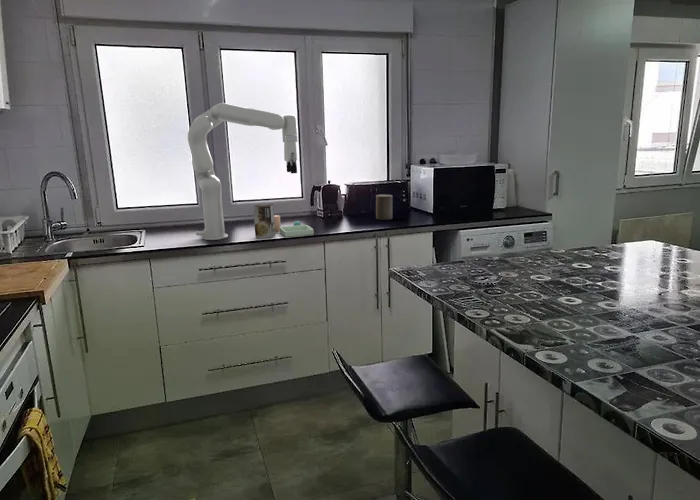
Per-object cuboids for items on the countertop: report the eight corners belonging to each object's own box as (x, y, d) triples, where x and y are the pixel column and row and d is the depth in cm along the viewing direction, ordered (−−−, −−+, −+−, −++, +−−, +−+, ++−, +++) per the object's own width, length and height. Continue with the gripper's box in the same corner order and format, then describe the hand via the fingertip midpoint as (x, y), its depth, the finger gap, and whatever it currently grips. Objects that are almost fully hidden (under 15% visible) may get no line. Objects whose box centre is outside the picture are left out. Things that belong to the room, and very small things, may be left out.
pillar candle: (378, 220, 295) (378, 194, 292) (374, 217, 304) (373, 192, 301) (394, 219, 298) (395, 193, 294) (389, 216, 307) (389, 191, 303)
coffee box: (275, 235, 261) (273, 204, 257) (272, 238, 255) (270, 205, 251) (258, 235, 262) (256, 204, 258) (255, 238, 256) (252, 206, 252)
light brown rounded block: (268, 232, 269) (267, 217, 267) (266, 230, 275) (265, 215, 274) (282, 231, 271) (281, 216, 269) (279, 229, 278) (278, 214, 276)
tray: (285, 237, 254) (285, 231, 253) (279, 232, 268) (279, 227, 267) (313, 235, 258) (313, 229, 258) (306, 230, 272) (306, 224, 271)
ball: (294, 229, 276) (294, 222, 275) (293, 228, 279) (292, 220, 278) (302, 228, 277) (301, 221, 276) (300, 227, 281) (299, 220, 280)
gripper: (279, 139, 271) (281, 172, 275) (286, 139, 255) (288, 174, 259) (293, 139, 273) (295, 171, 277) (300, 139, 257) (302, 173, 261)
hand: (291, 172), depth 268 cm, fingers open, 9 cm apart
